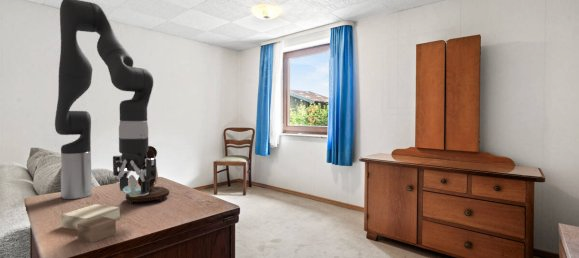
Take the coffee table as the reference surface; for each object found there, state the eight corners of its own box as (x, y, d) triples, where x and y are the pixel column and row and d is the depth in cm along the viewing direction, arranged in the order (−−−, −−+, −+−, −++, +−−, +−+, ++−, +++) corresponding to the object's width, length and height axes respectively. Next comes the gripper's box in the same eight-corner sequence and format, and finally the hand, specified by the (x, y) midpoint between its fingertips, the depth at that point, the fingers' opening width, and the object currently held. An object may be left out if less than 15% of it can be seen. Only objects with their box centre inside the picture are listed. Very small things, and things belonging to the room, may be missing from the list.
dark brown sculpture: (167, 203, 102) (166, 148, 101) (121, 207, 97) (119, 149, 96) (171, 192, 116) (170, 144, 115) (130, 195, 111) (129, 145, 110)
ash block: (61, 228, 80) (61, 214, 79) (95, 216, 89) (95, 204, 89) (87, 233, 76) (86, 218, 76) (119, 220, 86) (119, 207, 86)
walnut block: (77, 239, 72) (77, 223, 72) (101, 230, 78) (100, 216, 78) (92, 243, 70) (92, 227, 70) (115, 234, 76) (115, 219, 75)
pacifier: (140, 191, 88) (120, 194, 83) (141, 171, 88) (120, 173, 83) (153, 195, 84) (132, 199, 79) (153, 174, 83) (133, 177, 79)
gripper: (103, 136, 80) (104, 192, 81) (142, 138, 76) (143, 198, 77) (126, 134, 88) (126, 186, 89) (163, 136, 83) (163, 191, 84)
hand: (134, 191), depth 83 cm, fingers closed on pacifier, 7 cm apart
